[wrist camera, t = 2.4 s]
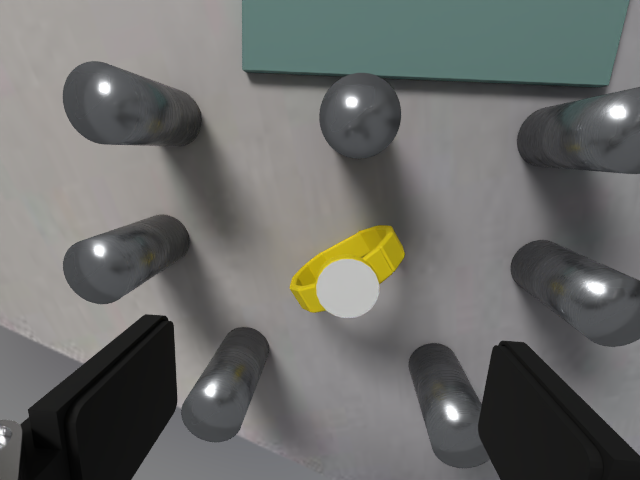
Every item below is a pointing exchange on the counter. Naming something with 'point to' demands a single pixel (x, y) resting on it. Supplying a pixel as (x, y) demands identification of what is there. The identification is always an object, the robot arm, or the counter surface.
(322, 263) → the watch
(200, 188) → the counter surface
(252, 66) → the mat
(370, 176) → the counter surface
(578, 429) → the robot arm
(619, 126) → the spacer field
